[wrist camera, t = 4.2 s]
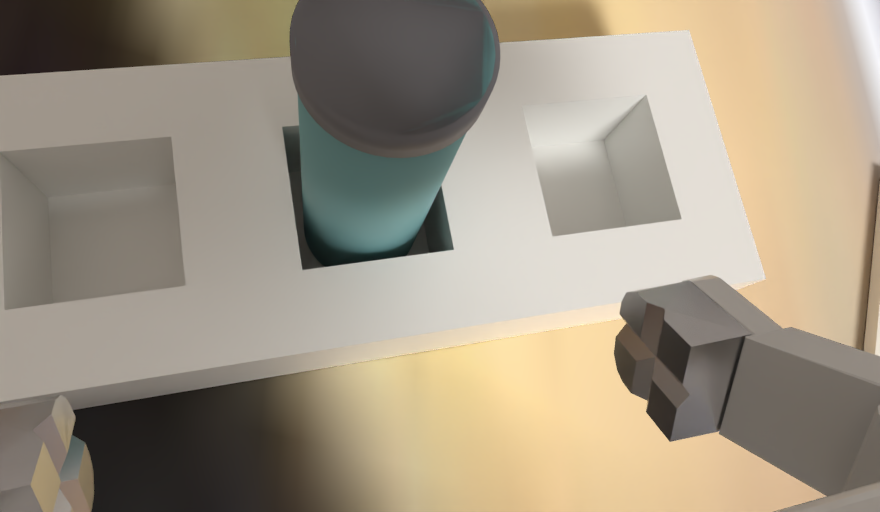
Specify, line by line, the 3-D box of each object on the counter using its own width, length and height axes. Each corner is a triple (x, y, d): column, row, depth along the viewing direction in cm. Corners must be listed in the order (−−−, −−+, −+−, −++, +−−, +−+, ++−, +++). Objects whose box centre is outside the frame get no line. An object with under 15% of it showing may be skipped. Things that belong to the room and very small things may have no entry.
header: (631, 94, 28) (689, 30, 24) (691, 307, 26) (766, 278, 21) (-20, 151, 23) (-97, 82, 18) (-13, 424, 20) (-99, 417, 16)
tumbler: (397, 297, 23) (468, 170, 12) (283, 259, 22) (256, 94, 12) (432, 193, 24) (522, -3, 14) (324, 155, 24) (332, -76, 13)
